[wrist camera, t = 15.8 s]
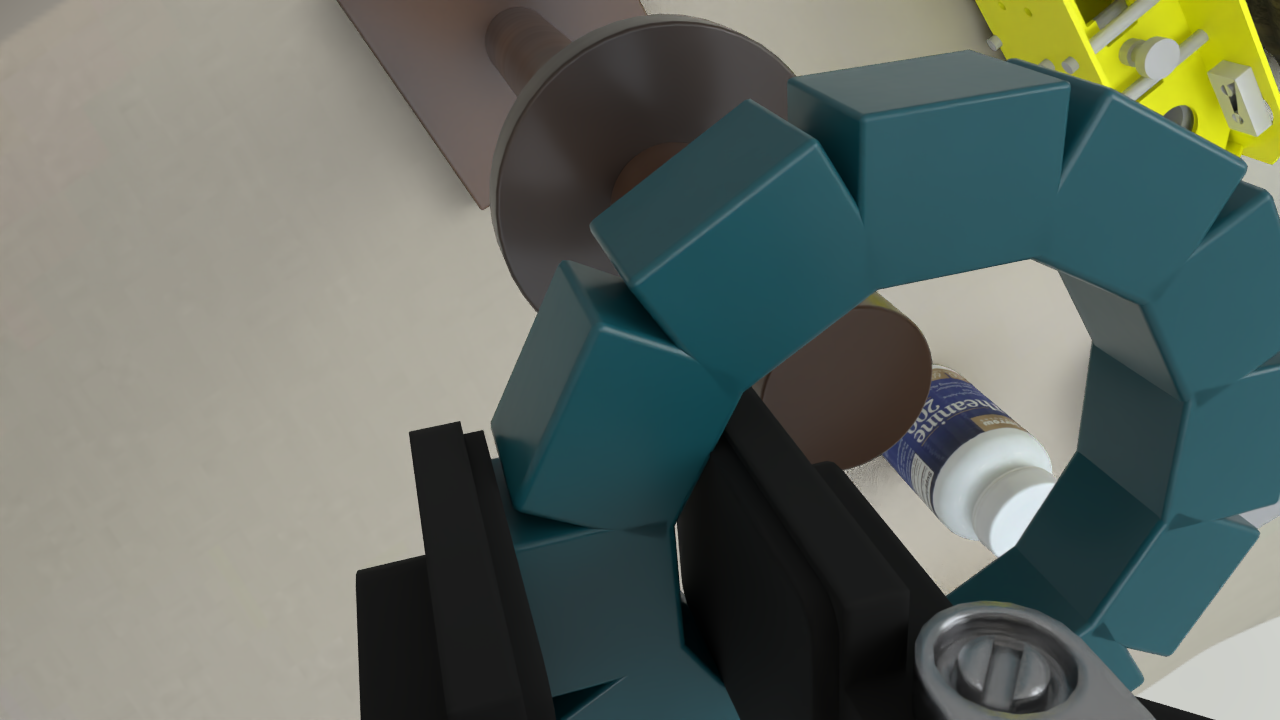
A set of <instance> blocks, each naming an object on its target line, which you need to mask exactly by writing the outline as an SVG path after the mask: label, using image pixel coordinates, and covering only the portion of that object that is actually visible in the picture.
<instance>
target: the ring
mask: <svg viewBox="0 0 1280 720" xmlns="http://www.w3.org/2000/svg"><path fill="white" fill-rule="evenodd" d="M787 104H788V122H787V121H786V120H784V119H783V118H781V117H779V116H778V115H776V114H774V113H773V112H771V111H769V110H768V109H766V108H765V107H763V106H761V105H760V104H758V103H756V102H755V101H753V100H751V99H748V100H745V101H743V102H742V103H740V104H739V105H738V106H737V107H735V108H734V109H733V110H732V111H730V112H729V113H728V114H727V115H725V116H724V117H723V118H721V119H720V120H719V121H718V122H716V123H715V124H714V125H713V126H711V127H710V128H709V129H707V130H706V131H705V132H704V133H702V134H701V135H700V136H699V137H697V138H696V139H695V140H694V141H692V142H691V143H690V144H688V145H687V146H686V147H685V148H683V149H682V150H681V151H680V152H678V153H677V154H676V155H675V156H673V157H672V158H671V159H669V160H668V161H667V162H666V163H664V164H663V165H662V166H661V167H659V168H658V169H657V170H656V171H654V172H653V173H652V174H650V175H649V176H648V177H647V178H645V179H644V180H643V181H642V182H640V183H639V184H638V185H636V186H635V187H634V188H633V189H631V190H630V191H629V192H628V193H626V194H625V195H624V196H623V197H621V198H620V199H619V200H617V201H616V202H615V203H614V204H612V205H611V206H610V207H609V208H607V209H606V210H605V211H604V212H602V213H601V214H600V215H598V216H597V217H596V218H595V219H593V220H592V222H591V223H590V225H589V226H590V230H591V233H592V234H593V236H594V237H595V239H596V240H597V241H598V243H599V244H600V246H601V247H602V249H603V250H604V252H605V253H606V255H607V256H608V258H609V259H610V261H611V262H612V264H613V265H614V267H615V268H616V270H617V271H618V273H619V274H620V276H621V277H622V278H621V277H618V276H615V275H612V274H609V273H606V272H603V271H600V270H597V269H594V268H591V267H588V266H585V265H582V264H579V263H577V262H574V261H571V260H562V261H561V263H560V264H559V265H558V267H557V269H556V271H555V274H554V276H553V278H552V281H551V283H550V285H549V288H548V290H547V292H546V295H545V297H544V299H543V302H542V304H541V306H540V309H539V311H538V313H537V316H536V318H535V320H534V323H533V325H532V327H531V330H530V332H529V334H528V337H527V339H526V341H525V344H524V346H523V348H522V351H521V353H520V355H519V358H518V360H517V362H516V365H515V367H514V369H513V372H512V374H511V376H510V379H509V381H508V383H507V386H506V388H505V390H504V393H503V395H502V397H501V400H500V402H499V404H498V407H497V409H496V411H495V414H494V416H493V418H492V421H491V430H492V433H493V437H494V441H495V444H496V448H497V452H498V455H499V457H498V458H494V459H491V462H492V465H493V469H494V473H495V477H496V481H497V484H498V488H499V492H500V496H501V500H502V503H503V507H504V511H505V515H506V519H507V522H508V526H509V530H510V534H511V538H512V541H513V545H514V549H515V553H516V557H517V560H518V564H519V568H520V572H521V576H522V579H523V583H524V587H525V591H526V595H527V599H528V602H529V606H530V610H531V614H532V618H533V621H534V625H535V629H536V633H537V637H538V640H539V644H540V648H541V652H542V656H543V660H544V664H545V668H546V672H547V676H548V681H549V685H550V690H551V694H552V699H553V704H554V709H555V715H556V720H740V718H739V716H738V714H737V712H736V710H735V707H734V705H733V703H732V701H731V699H730V697H729V695H728V692H727V690H726V688H725V686H724V682H723V679H722V677H721V675H720V673H719V671H718V669H717V667H716V664H715V662H714V660H713V658H712V656H711V654H710V652H709V650H708V647H707V645H706V643H705V641H704V639H703V637H702V635H701V632H700V630H699V628H698V626H697V624H696V622H695V620H694V618H693V615H692V613H691V611H690V609H689V607H688V605H687V602H686V598H685V595H684V594H683V593H682V592H681V591H680V583H679V571H678V560H677V549H676V537H675V524H676V522H677V520H678V518H679V516H680V514H681V512H682V510H683V508H684V507H685V505H686V503H687V501H688V499H689V497H690V495H691V493H692V491H693V489H694V487H695V485H696V483H697V481H698V479H699V477H700V475H701V474H702V472H703V470H704V468H705V466H706V464H707V462H708V460H709V458H710V452H712V451H713V450H714V448H715V446H716V444H717V443H718V441H719V439H720V437H721V435H722V433H723V431H724V429H725V427H726V425H727V423H728V421H729V419H730V417H731V415H732V413H733V412H734V410H735V408H736V406H737V404H738V402H739V400H740V398H741V396H742V394H743V392H745V391H746V390H747V389H748V388H750V387H751V386H752V385H754V384H755V383H756V382H758V381H759V380H760V379H762V378H763V377H764V376H765V375H767V374H768V373H769V372H771V371H772V370H773V369H775V368H776V367H777V366H779V365H780V364H781V363H783V362H784V361H785V360H786V359H788V358H789V357H790V356H792V355H793V354H794V353H796V352H797V351H798V350H800V349H801V348H802V347H803V346H805V345H806V344H807V343H809V342H810V341H811V340H813V339H814V338H815V337H817V336H818V335H819V334H820V333H822V332H823V331H824V330H826V329H827V328H828V327H830V326H831V325H832V324H834V323H835V322H836V321H838V320H839V319H840V318H841V317H843V316H844V315H845V314H847V313H848V312H849V311H851V310H852V309H853V308H855V307H856V306H857V305H858V304H860V303H861V302H862V301H864V300H865V299H866V298H868V297H869V296H870V295H872V294H873V293H874V292H876V291H877V290H879V289H884V288H889V287H893V286H898V285H903V284H908V283H913V282H918V281H923V280H928V279H933V278H938V277H943V276H948V275H953V274H958V273H963V272H968V271H973V270H978V269H983V268H988V267H992V266H997V265H1002V264H1007V263H1012V262H1017V261H1022V260H1027V259H1032V260H1034V261H1036V262H1039V263H1041V264H1043V265H1046V266H1048V267H1050V268H1053V269H1055V270H1057V271H1058V272H1059V274H1060V276H1061V278H1062V280H1063V282H1064V284H1065V286H1066V288H1067V290H1068V292H1069V294H1070V297H1071V299H1072V301H1073V303H1074V305H1075V307H1076V309H1077V311H1078V313H1079V315H1080V317H1081V319H1082V321H1083V323H1084V325H1085V327H1086V329H1087V331H1088V333H1089V335H1090V337H1091V339H1092V344H1091V351H1090V358H1089V365H1088V372H1087V380H1086V387H1085V394H1084V401H1083V408H1082V415H1081V423H1080V430H1079V437H1078V444H1077V451H1076V452H1075V454H1074V456H1073V457H1072V459H1071V460H1070V462H1069V463H1068V465H1067V466H1066V468H1065V469H1064V471H1063V472H1062V474H1061V476H1060V477H1059V479H1058V480H1057V482H1056V483H1055V485H1054V486H1053V488H1052V489H1051V491H1050V492H1049V494H1048V496H1047V497H1046V499H1045V500H1044V502H1043V503H1042V505H1041V506H1040V508H1039V509H1038V511H1037V512H1036V514H1035V515H1034V517H1033V519H1032V520H1031V522H1030V523H1029V525H1028V526H1027V528H1026V529H1025V531H1024V532H1023V534H1022V535H1021V537H1020V539H1019V540H1018V542H1017V543H1016V545H1015V546H1014V547H1012V548H1011V549H1009V550H1008V551H1007V552H1005V553H1004V554H1003V555H1001V556H1000V557H999V558H997V559H996V560H994V561H993V562H992V563H990V564H989V565H988V566H986V567H985V568H984V569H982V570H981V571H979V572H978V573H977V574H975V575H974V576H973V577H971V578H970V579H969V580H967V581H966V582H964V583H963V584H962V585H960V586H959V587H958V588H956V589H955V590H953V591H952V592H951V593H949V594H948V595H947V596H946V597H947V599H948V600H949V601H950V602H951V603H952V605H953V606H955V605H957V604H962V603H969V602H976V601H996V602H1009V603H1014V604H1017V605H1021V606H1024V607H1028V608H1032V609H1035V610H1038V611H1040V612H1042V613H1044V614H1046V615H1048V616H1050V617H1052V618H1054V619H1056V620H1058V621H1060V622H1062V623H1063V624H1064V625H1065V626H1067V627H1068V628H1069V629H1070V630H1071V631H1073V632H1074V633H1075V634H1076V635H1077V636H1079V637H1080V638H1081V639H1082V640H1083V641H1084V642H1085V643H1086V644H1087V645H1088V646H1089V647H1090V649H1091V650H1092V651H1093V652H1094V653H1095V654H1096V655H1097V656H1098V657H1099V658H1100V659H1101V660H1102V661H1103V663H1104V664H1105V665H1106V666H1107V667H1108V668H1109V669H1110V670H1111V671H1112V672H1113V673H1114V674H1115V675H1116V677H1117V678H1118V679H1119V680H1120V681H1121V682H1122V683H1123V684H1124V685H1125V686H1126V687H1127V688H1128V690H1129V691H1130V692H1132V691H1133V690H1134V689H1136V688H1137V687H1139V686H1140V685H1141V684H1142V683H1143V682H1144V677H1143V675H1142V673H1141V671H1140V670H1139V668H1138V666H1137V665H1136V663H1135V661H1134V660H1133V658H1132V656H1131V655H1130V653H1129V651H1128V650H1127V648H1130V649H1134V650H1139V651H1143V652H1148V653H1152V654H1157V655H1161V656H1166V657H1167V656H1170V655H1171V654H1173V653H1174V651H1175V650H1176V649H1177V647H1178V646H1179V644H1180V643H1181V642H1182V640H1183V639H1184V638H1185V636H1186V635H1187V634H1188V632H1189V631H1190V630H1191V628H1192V627H1193V626H1194V624H1195V623H1196V622H1197V620H1198V619H1199V618H1200V616H1201V615H1202V614H1203V612H1204V611H1205V609H1206V608H1207V607H1208V605H1209V604H1210V603H1211V601H1212V600H1213V599H1214V597H1215V596H1216V595H1217V593H1218V592H1219V591H1220V589H1221V588H1222V587H1223V585H1224V584H1225V583H1226V581H1227V580H1228V579H1229V577H1230V576H1231V574H1232V573H1233V572H1234V570H1235V569H1236V568H1237V566H1238V565H1239V564H1240V562H1241V561H1242V560H1243V558H1244V557H1245V556H1246V554H1247V553H1248V552H1249V550H1250V549H1251V548H1252V546H1253V545H1254V543H1255V542H1256V541H1257V539H1258V538H1259V535H1260V532H1259V531H1258V530H1257V528H1256V527H1255V526H1254V525H1252V524H1251V523H1250V522H1248V521H1247V520H1246V519H1244V518H1243V517H1242V516H1240V515H1239V514H1241V513H1245V512H1249V511H1253V510H1256V509H1260V508H1264V507H1268V506H1271V505H1275V504H1276V503H1277V502H1278V501H1279V499H1280V219H1279V215H1278V212H1277V209H1276V206H1275V203H1274V200H1273V197H1272V196H1271V195H1270V193H1269V192H1268V191H1266V190H1265V189H1263V188H1260V187H1257V186H1255V185H1252V184H1249V183H1247V182H1244V181H1241V180H1242V178H1243V177H1244V175H1245V174H1246V171H1247V167H1248V166H1247V165H1246V163H1245V162H1244V161H1243V159H1241V158H1240V157H1238V156H1236V155H1234V154H1232V153H1230V152H1229V151H1227V150H1225V149H1223V148H1221V147H1219V146H1218V145H1216V144H1214V143H1212V142H1210V141H1208V140H1206V139H1205V138H1203V137H1201V136H1199V135H1197V134H1195V133H1194V132H1192V131H1190V130H1188V129H1186V128H1184V127H1183V126H1181V125H1179V124H1177V123H1175V122H1173V121H1172V120H1170V119H1168V118H1166V117H1164V116H1162V115H1160V114H1159V113H1157V112H1155V111H1153V110H1151V109H1149V108H1148V107H1146V106H1144V105H1142V104H1140V103H1138V102H1137V101H1135V100H1133V99H1131V98H1129V97H1127V96H1126V95H1124V94H1122V93H1120V92H1118V91H1116V90H1114V89H1113V88H1110V87H1107V86H1104V85H1100V84H1097V83H1094V82H1091V81H1088V80H1085V79H1081V78H1078V77H1075V76H1072V75H1069V74H1066V73H1062V72H1059V71H1056V70H1053V69H1050V68H1046V67H1043V66H1040V65H1037V64H1034V63H1031V62H1027V61H1024V60H1021V59H1018V58H1011V59H1008V60H1007V61H1003V60H1000V59H997V58H994V57H991V56H988V55H985V54H981V53H978V52H975V51H972V50H964V51H958V52H952V53H945V54H939V55H932V56H926V57H919V58H913V59H907V60H900V61H894V62H887V63H881V64H874V65H868V66H862V67H855V68H849V69H842V70H836V71H829V72H823V73H817V74H810V75H804V76H797V77H792V78H790V79H788V82H787Z"/></svg>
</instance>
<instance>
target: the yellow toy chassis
mask: <svg viewBox="0 0 1280 720" xmlns="http://www.w3.org/2000/svg"><path fill="white" fill-rule="evenodd" d="M975 1H976V3H977V5H978V7H979V9H980V11H981V12H982V14H983V16H984V18H985V20H986V22H987V24H988V26H989V28H990V29H991V31H992V33H993V36H992V37H990V38H989V39H988V40H987V44H988V45H989V47H990V48H991V49H992V50H994V51H996V50H998V49H999V48H1001V50H1002V52H1003V54H1004V56H1005V58H1006V60H1008V59H1011V58H1018V59H1021V60H1024V61H1027V62H1031V63H1034V64H1037V65H1040V66H1043V67H1046V68H1050V69H1053V70H1056V71H1059V72H1062V73H1066V74H1069V75H1072V76H1075V77H1078V78H1081V79H1085V80H1088V81H1091V82H1094V83H1097V84H1100V85H1104V86H1107V87H1110V88H1113V89H1114V90H1116V91H1118V92H1120V93H1122V94H1124V95H1126V96H1127V97H1129V98H1131V99H1133V100H1135V101H1137V102H1138V103H1140V104H1142V105H1144V106H1146V107H1148V108H1149V109H1151V110H1153V111H1155V112H1157V113H1159V114H1160V115H1162V116H1164V117H1166V118H1168V119H1170V120H1172V121H1173V122H1175V123H1177V124H1179V125H1181V126H1183V127H1184V128H1186V129H1188V130H1190V131H1192V132H1194V133H1195V134H1197V135H1199V136H1201V137H1203V138H1205V139H1206V140H1208V141H1210V142H1212V143H1214V144H1216V145H1218V146H1219V147H1221V148H1223V149H1225V150H1227V151H1229V152H1230V153H1232V154H1234V155H1236V156H1238V157H1241V154H1242V155H1245V156H1248V157H1250V158H1253V159H1256V160H1259V161H1262V162H1265V163H1268V164H1271V165H1272V164H1274V163H1275V162H1276V161H1277V160H1278V158H1279V157H1280V94H1279V91H1278V88H1277V85H1276V83H1275V80H1274V77H1273V75H1272V72H1271V69H1270V66H1269V64H1268V61H1267V58H1266V55H1265V53H1264V50H1263V47H1262V45H1261V42H1260V39H1259V36H1258V34H1257V31H1256V28H1255V26H1254V23H1253V20H1252V17H1251V15H1250V12H1249V9H1248V6H1247V4H1246V1H1245V0H975ZM1263 99H1264V100H1265V101H1266V102H1267V103H1268V105H1269V106H1270V108H1271V110H1272V112H1273V116H1274V118H1273V121H1271V118H1270V115H1269V113H1268V110H1267V107H1266V105H1265V102H1264V100H1263Z"/></svg>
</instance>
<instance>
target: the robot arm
mask: <svg viewBox="0 0 1280 720" xmlns="http://www.w3.org/2000/svg"><path fill="white" fill-rule="evenodd" d="M409 437H410V444H411V452H412V459H413V467H414V474H415V481H416V489H417V496H418V503H419V511H420V518H421V526H422V533H423V540H424V548H425V555H422V556H418V557H413V558H409V559H405V560H401V561H396V562H392V563H388V564H384V565H379V566H375V567H371V568H366V569H362V570H358V571H357V574H356V602H357V630H358V657H359V685H360V712H361V720H556V715H555V709H554V704H553V699H552V694H551V690H550V685H549V681H548V676H547V672H546V668H545V664H544V660H543V656H542V652H541V648H540V644H539V640H538V637H537V633H536V629H535V625H534V621H533V618H532V614H531V610H530V606H529V602H528V599H527V595H526V591H525V587H524V583H523V579H522V576H521V572H520V568H519V564H518V560H517V557H516V553H515V549H514V545H513V541H512V538H511V534H510V530H509V526H508V522H507V519H506V515H505V511H504V507H503V503H502V500H501V496H500V492H499V488H498V484H497V481H496V477H495V473H494V469H493V465H492V462H491V458H490V454H489V450H488V446H487V443H486V439H485V435H484V431H483V430H481V431H476V432H471V433H467V434H463V431H462V427H461V422H460V421H458V422H453V423H449V424H444V425H439V426H434V427H430V428H425V429H420V430H415V431H411V432H409ZM677 529H678V541H679V552H680V564H681V576H682V585H683V590H684V595H685V598H686V602H687V605H688V607H689V609H690V611H691V613H692V615H693V618H694V620H695V622H696V624H697V626H698V628H699V630H700V632H701V635H702V637H703V639H704V641H705V643H706V645H707V647H708V650H709V652H710V654H711V656H712V658H713V660H714V662H715V664H716V667H717V669H718V671H719V673H720V675H721V677H722V679H723V682H724V686H725V688H726V690H727V692H728V695H729V697H730V699H731V701H732V703H733V705H734V707H735V710H736V712H737V714H738V716H739V718H740V720H1213V719H1210V718H1207V717H1203V716H1200V715H1197V714H1193V713H1190V712H1187V711H1183V710H1180V709H1177V708H1173V707H1170V706H1167V705H1163V704H1160V703H1156V702H1153V701H1150V700H1146V699H1143V698H1140V697H1136V696H1134V695H1133V694H1132V693H1131V692H1130V691H1129V690H1128V688H1127V687H1126V686H1125V685H1124V684H1123V683H1122V682H1121V681H1120V680H1119V679H1118V678H1117V677H1116V675H1115V674H1114V673H1113V672H1112V671H1111V670H1110V669H1109V668H1108V667H1107V666H1106V665H1105V664H1104V663H1103V661H1102V660H1101V659H1100V658H1099V657H1098V656H1097V655H1096V654H1095V653H1094V652H1093V651H1092V650H1091V649H1090V647H1089V646H1088V645H1087V644H1086V643H1085V642H1084V641H1083V640H1082V639H1081V638H1080V637H1079V636H1077V635H1076V634H1075V633H1074V632H1073V631H1071V630H1070V629H1069V628H1068V627H1067V626H1065V625H1064V624H1063V623H1062V622H1060V621H1058V620H1056V619H1054V618H1052V617H1050V616H1048V615H1046V614H1044V613H1042V612H1040V611H1038V610H1035V609H1032V608H1028V607H1024V606H1021V605H1017V604H1014V603H1009V602H996V601H976V602H969V603H962V604H957V605H955V606H953V605H952V603H951V602H950V601H949V600H948V599H947V597H946V596H945V595H944V594H943V592H942V591H941V590H940V589H939V588H938V586H937V585H936V584H935V583H934V581H933V580H932V579H931V578H930V577H929V575H928V574H927V573H926V572H925V570H924V569H923V568H922V567H921V566H920V564H919V563H918V562H917V561H916V559H915V558H914V557H913V556H912V555H911V553H910V552H909V551H908V550H907V548H906V547H905V546H904V545H903V544H902V542H901V541H900V540H899V539H898V537H897V536H896V535H895V534H894V533H893V531H892V530H891V529H890V528H889V526H888V525H887V524H886V523H885V522H884V520H883V519H882V518H881V517H880V515H879V514H878V513H877V512H876V511H875V509H874V508H873V507H872V506H871V504H870V503H869V502H868V501H867V500H866V498H865V497H864V496H863V495H862V493H861V492H860V491H859V490H858V489H857V487H856V486H855V485H854V484H853V482H852V481H851V480H850V479H849V478H848V476H847V475H846V474H845V473H844V471H843V470H842V469H841V468H840V467H839V466H838V465H836V464H835V463H834V462H831V461H824V462H819V463H815V464H811V463H810V461H809V460H808V459H807V457H806V456H805V455H804V454H803V452H802V451H801V450H800V448H799V447H798V446H797V445H796V443H795V442H794V441H793V439H792V438H791V437H790V436H789V434H788V433H787V432H786V430H785V429H784V428H783V427H782V425H781V424H780V423H779V421H778V420H777V419H776V417H775V416H774V415H773V414H772V412H771V411H770V410H769V408H768V407H767V406H766V405H765V403H764V402H763V401H762V399H761V398H760V397H759V396H758V394H757V393H756V392H755V390H754V389H753V388H752V387H750V388H748V389H747V390H746V391H745V392H743V394H742V396H741V398H740V400H739V402H738V404H737V406H736V408H735V410H734V412H733V413H732V415H731V417H730V419H729V421H728V423H727V425H726V427H725V429H724V431H723V433H722V435H721V437H720V439H719V441H718V443H717V444H716V446H715V448H714V450H713V451H712V452H710V458H709V460H708V462H707V464H706V466H705V468H704V470H703V472H702V474H701V475H700V477H699V479H698V481H697V483H696V485H695V487H694V489H693V491H692V493H691V495H690V497H689V499H688V501H687V503H686V505H685V507H684V508H683V510H682V512H681V514H680V516H679V518H678V520H677Z"/></svg>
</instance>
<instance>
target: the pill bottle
mask: <svg viewBox="0 0 1280 720" xmlns="http://www.w3.org/2000/svg"><path fill="white" fill-rule="evenodd" d="M882 455H883V457H884V458H885V459H886V460H887V461H888V463H889V464H890V465H891V466H892V467H893V468H894V469H895V470H896V471H897V473H898V474H899V475H900V476H901V477H902V478H903V479H904V480H905V482H906V483H907V484H908V485H909V486H910V487H911V488H912V489H913V491H914V492H915V493H916V494H917V495H918V496H919V497H920V499H921V500H922V501H923V502H924V503H925V504H926V505H927V506H928V507H929V509H930V510H931V511H932V512H933V513H934V514H935V515H936V517H937V518H938V519H939V520H940V521H941V522H942V523H943V524H944V525H945V526H946V527H947V528H948V529H949V530H950V531H952V532H953V533H955V534H956V535H958V536H960V537H963V538H966V539H970V540H978V541H980V542H981V543H982V544H983V545H984V546H986V547H987V548H988V549H989V550H990V551H991V552H992V553H993V554H994V555H995V556H996V557H998V558H999V557H1000V556H1001V555H1003V554H1004V553H1005V552H1007V551H1008V550H1009V549H1011V548H1012V547H1014V546H1015V545H1016V543H1017V542H1018V540H1019V539H1020V537H1021V535H1022V534H1023V532H1024V531H1025V529H1026V528H1027V526H1028V525H1029V523H1030V522H1031V520H1032V519H1033V517H1034V515H1035V514H1036V512H1037V511H1038V509H1039V508H1040V506H1041V505H1042V503H1043V502H1044V500H1045V499H1046V497H1047V496H1048V494H1049V492H1050V491H1051V489H1052V488H1053V486H1054V485H1055V483H1056V482H1057V480H1058V479H1057V478H1056V477H1055V476H1054V475H1053V474H1052V466H1051V461H1050V458H1049V456H1048V454H1047V452H1046V450H1045V449H1044V447H1043V446H1042V445H1041V444H1040V443H1039V442H1038V441H1037V440H1036V439H1035V438H1034V437H1033V436H1032V435H1031V434H1030V433H1029V432H1028V431H1026V430H1025V429H1024V428H1022V427H1021V426H1020V425H1019V424H1018V423H1016V422H1015V421H1014V420H1013V419H1012V418H1010V417H1009V416H1008V415H1007V414H1006V413H1005V412H1003V411H1002V410H1001V409H1000V408H999V407H998V406H996V405H995V404H994V403H993V402H992V401H990V400H989V399H988V398H987V397H986V396H984V395H983V394H982V393H981V392H980V391H979V390H977V389H976V388H975V387H974V386H973V385H972V384H971V383H969V382H968V381H967V380H966V379H965V378H963V377H962V376H961V375H960V374H958V373H957V372H955V371H954V370H952V369H950V368H947V367H944V366H940V365H932V382H931V387H930V391H929V395H928V397H927V400H926V403H925V405H924V407H923V409H922V411H921V413H920V415H919V417H918V418H917V420H916V421H915V423H914V424H913V426H912V427H911V428H910V429H909V431H908V432H907V433H906V434H905V435H904V436H903V437H902V438H901V439H900V440H899V441H898V442H897V443H896V444H895V445H894V446H893V447H891V448H890V449H889V450H887V451H886V452H884V453H883V454H882Z"/></svg>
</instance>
